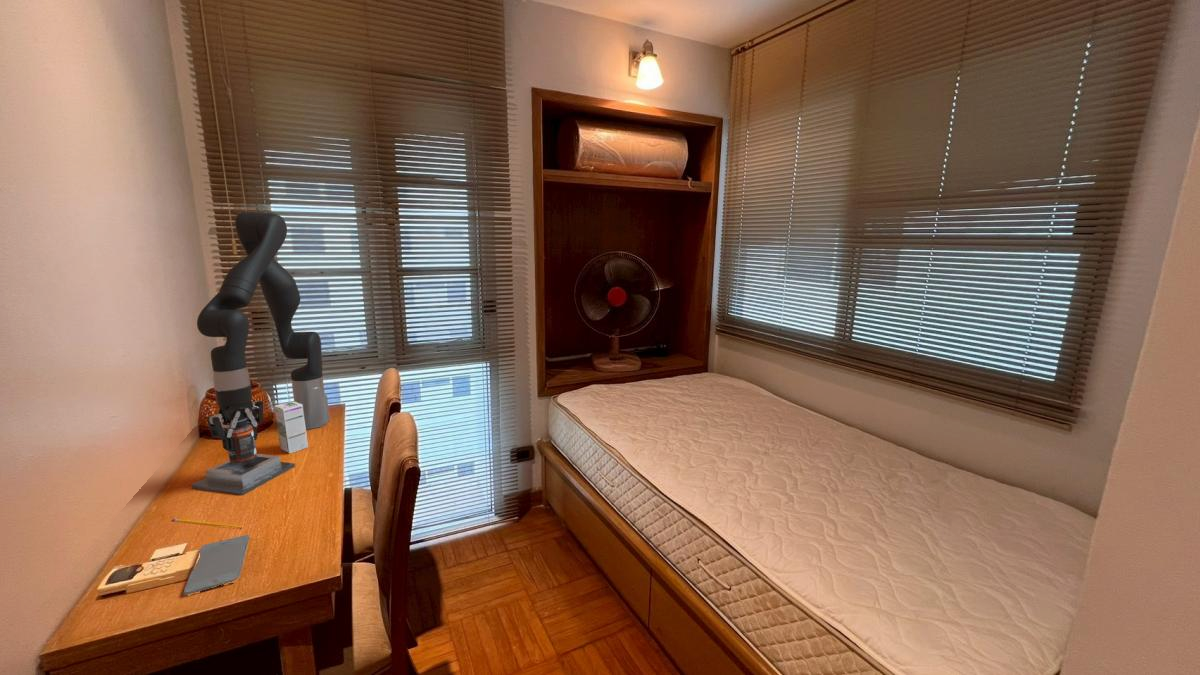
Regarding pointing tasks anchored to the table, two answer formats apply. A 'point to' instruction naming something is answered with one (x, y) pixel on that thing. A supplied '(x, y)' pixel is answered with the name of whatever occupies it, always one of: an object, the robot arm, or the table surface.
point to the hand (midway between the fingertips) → (241, 444)
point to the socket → (242, 474)
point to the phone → (217, 564)
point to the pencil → (204, 523)
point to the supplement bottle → (242, 442)
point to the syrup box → (291, 426)
